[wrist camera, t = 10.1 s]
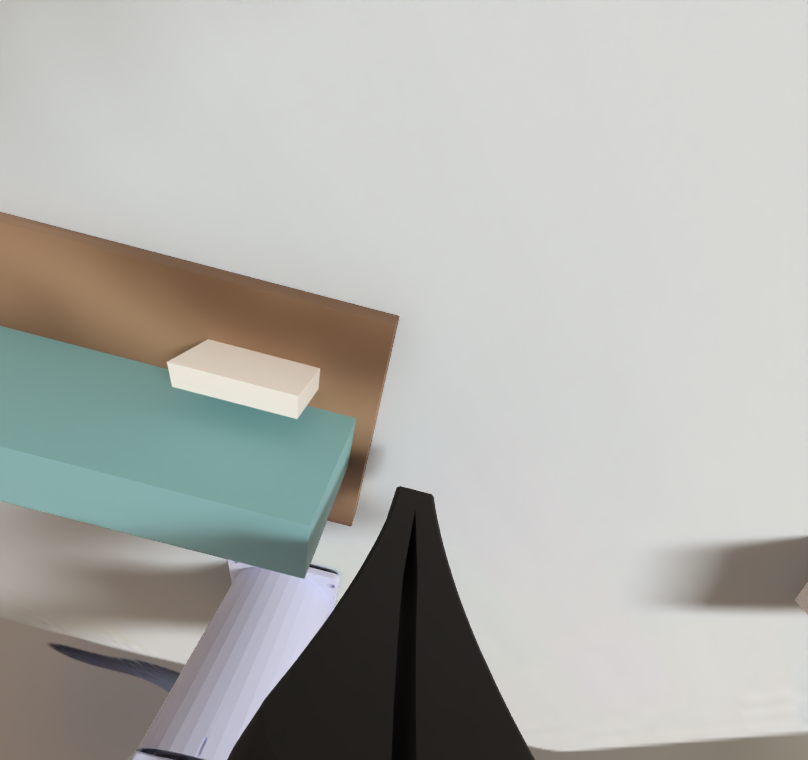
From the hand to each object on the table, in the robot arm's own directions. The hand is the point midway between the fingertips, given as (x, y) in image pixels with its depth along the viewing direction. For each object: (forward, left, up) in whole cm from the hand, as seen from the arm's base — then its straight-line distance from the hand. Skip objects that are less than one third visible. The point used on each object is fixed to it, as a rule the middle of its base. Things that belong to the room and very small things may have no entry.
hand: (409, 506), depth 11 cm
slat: (0, +11, -2) cm, 11 cm away
